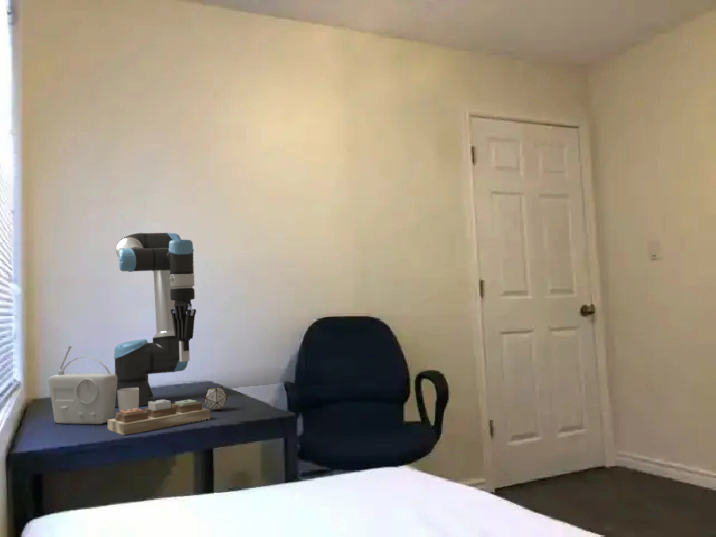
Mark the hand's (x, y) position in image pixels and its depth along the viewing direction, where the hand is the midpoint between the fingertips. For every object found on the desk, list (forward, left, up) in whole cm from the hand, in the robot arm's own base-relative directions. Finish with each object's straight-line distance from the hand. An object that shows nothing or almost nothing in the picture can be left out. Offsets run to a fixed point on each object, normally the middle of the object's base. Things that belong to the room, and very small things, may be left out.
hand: (184, 361), depth 210 cm
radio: (-23, -24, -19) cm, 39 cm away
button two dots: (+1, -9, -14) cm, 17 cm away
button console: (+1, -9, -19) cm, 21 cm away
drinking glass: (-13, -13, -19) cm, 27 cm away
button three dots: (+1, -18, -15) cm, 24 cm away
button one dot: (+1, 0, -15) cm, 15 cm away
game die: (-5, +14, -19) cm, 24 cm away
